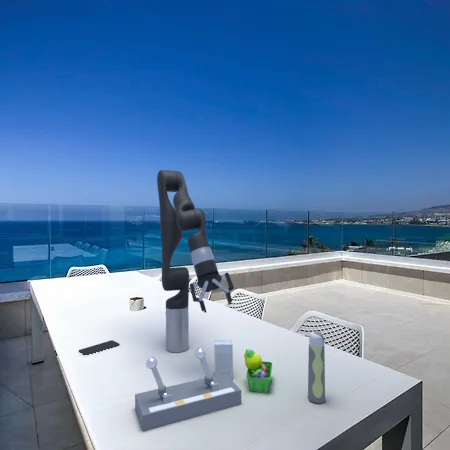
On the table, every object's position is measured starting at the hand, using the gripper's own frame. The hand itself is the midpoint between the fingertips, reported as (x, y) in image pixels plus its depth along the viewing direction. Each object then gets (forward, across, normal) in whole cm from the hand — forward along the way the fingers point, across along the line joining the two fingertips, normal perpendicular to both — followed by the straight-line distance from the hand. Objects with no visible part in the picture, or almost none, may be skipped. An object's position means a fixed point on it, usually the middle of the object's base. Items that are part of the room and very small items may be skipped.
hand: (217, 308), depth 108 cm
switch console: (+24, +16, +6) cm, 29 cm away
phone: (-1, +49, -36) cm, 61 cm away
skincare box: (+22, +4, -9) cm, 24 cm away
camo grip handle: (+34, -20, +6) cm, 40 cm away
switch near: (+18, +22, +10) cm, 30 cm away
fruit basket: (+26, -6, -4) cm, 27 cm away
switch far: (+20, +8, +6) cm, 23 cm away
